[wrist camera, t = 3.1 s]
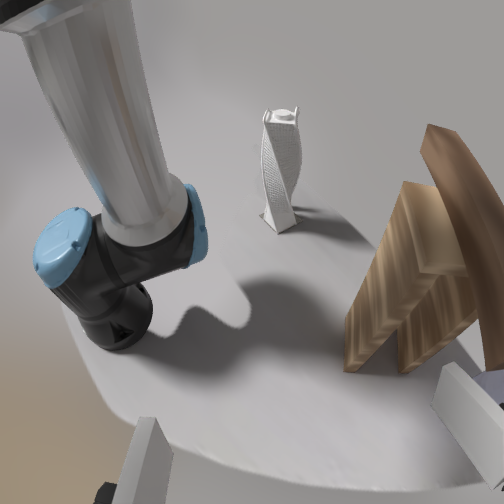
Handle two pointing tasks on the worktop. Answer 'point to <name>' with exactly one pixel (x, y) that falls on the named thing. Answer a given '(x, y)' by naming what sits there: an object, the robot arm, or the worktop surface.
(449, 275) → the bridge
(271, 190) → the skyscraper
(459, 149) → the walnut rail
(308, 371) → the worktop surface
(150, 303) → the robot arm
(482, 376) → the soap bottle
